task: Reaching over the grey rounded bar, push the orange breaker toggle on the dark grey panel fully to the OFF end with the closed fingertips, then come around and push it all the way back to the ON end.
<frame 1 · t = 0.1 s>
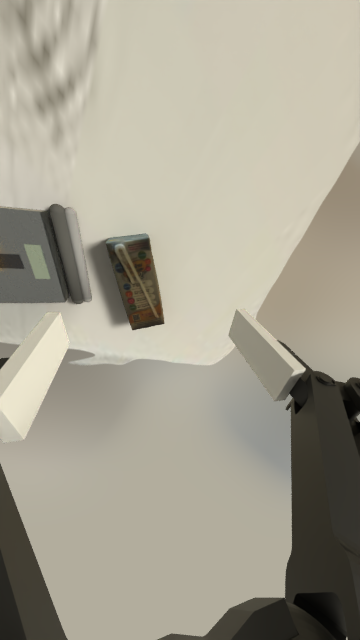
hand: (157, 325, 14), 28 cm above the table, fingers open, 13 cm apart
beverage carton: (138, 279, 40), on the table
grey rounded bar: (71, 259, 35), on the table
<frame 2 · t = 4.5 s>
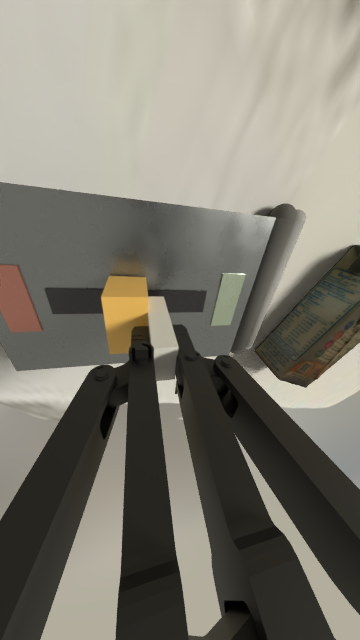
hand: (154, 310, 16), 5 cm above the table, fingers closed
toggle: (128, 313, 15), point 5 cm above the table, slide at 4.5 cm, touching gripper
breaker panel: (134, 288, 19), on the table
beverage carton: (307, 312, 27), on the table
grey rounded bar: (249, 290, 22), on the table
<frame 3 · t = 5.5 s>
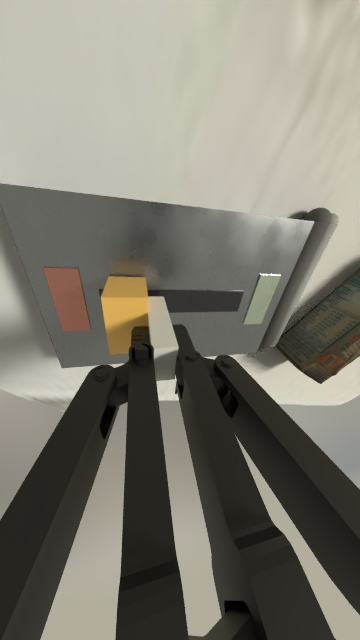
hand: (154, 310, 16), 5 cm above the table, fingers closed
toggle: (128, 314, 15), point 5 cm above the table, slide at 0.5 cm, touching gripper
breaker panel: (171, 289, 20), on the table
beverage carton: (328, 310, 28), on the table
grey rounded bar: (277, 290, 23), on the table
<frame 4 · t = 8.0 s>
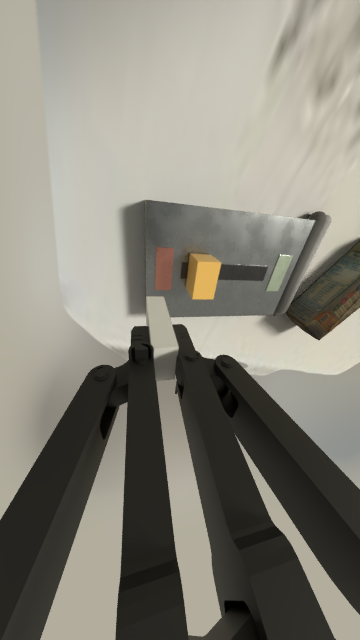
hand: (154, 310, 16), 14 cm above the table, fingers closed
toggle: (201, 276, 24), point 5 cm above the table, slide at 0.4 cm
breaker panel: (218, 266, 30), on the table
beverage carton: (325, 285, 37), on the table
grey rounded bar: (288, 269, 33), on the table
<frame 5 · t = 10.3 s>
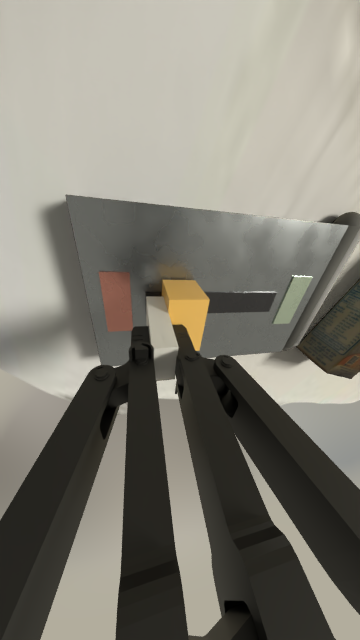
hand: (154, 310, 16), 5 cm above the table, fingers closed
toggle: (181, 315, 16), point 5 cm above the table, slide at 1.0 cm, touching gripper
breaker panel: (204, 290, 21), on the table
beverage carton: (348, 306, 28), on the table
grey rounded bar: (302, 291, 24), on the table
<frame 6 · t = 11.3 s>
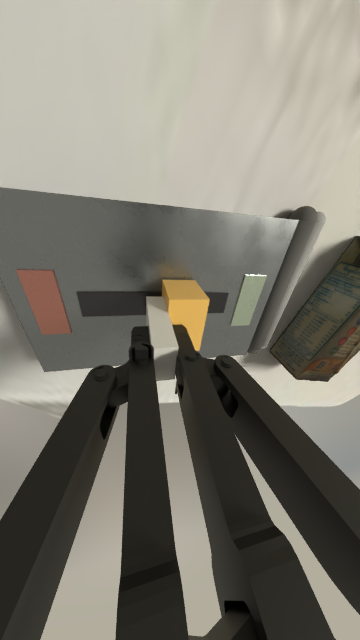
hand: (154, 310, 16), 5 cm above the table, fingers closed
toggle: (181, 315, 16), point 5 cm above the table, slide at 6.7 cm, touching gripper
breaker panel: (156, 290, 20), on the table
beverage carton: (319, 306, 27), on the table
grey rounded bar: (266, 291, 23), on the table
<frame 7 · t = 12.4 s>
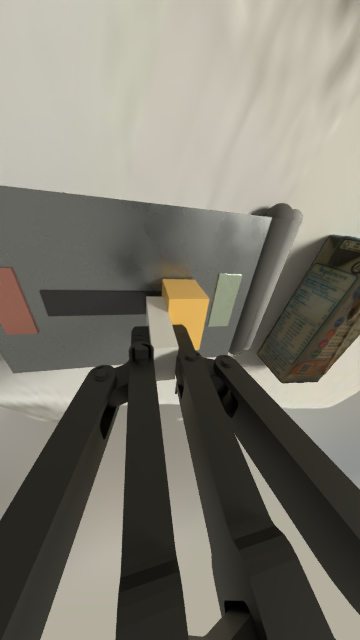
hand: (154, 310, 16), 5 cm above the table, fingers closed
toggle: (180, 314, 16), point 5 cm above the table, slide at 9.4 cm, touching gripper
breaker panel: (131, 290, 19), on the table
beverage carton: (303, 306, 26), on the table
grey rounded bar: (246, 290, 22), on the table
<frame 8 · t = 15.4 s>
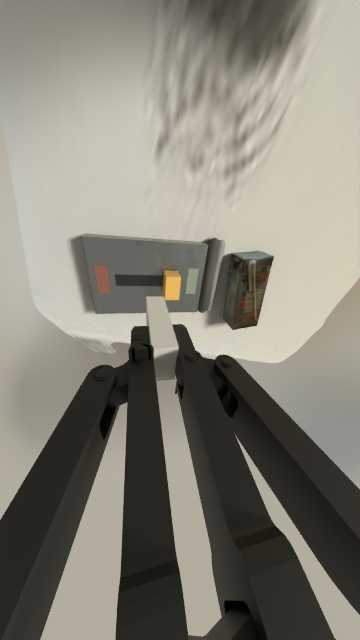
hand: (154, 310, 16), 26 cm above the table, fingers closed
toggle: (171, 285, 37), point 5 cm above the table, slide at 9.4 cm
breaker panel: (148, 276, 41), on the table
beverage carton: (238, 287, 48), on the table
grey rounded bar: (205, 277, 44), on the table
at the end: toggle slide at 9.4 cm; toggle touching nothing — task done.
